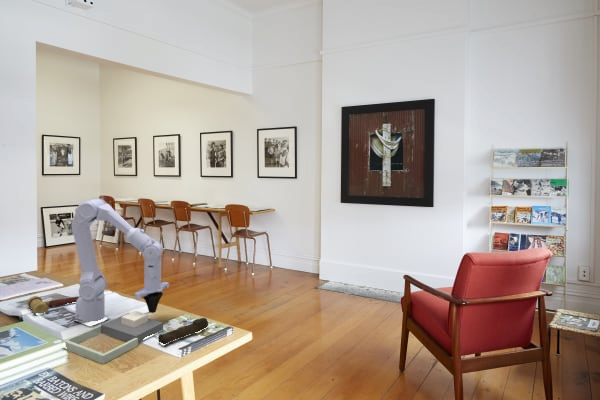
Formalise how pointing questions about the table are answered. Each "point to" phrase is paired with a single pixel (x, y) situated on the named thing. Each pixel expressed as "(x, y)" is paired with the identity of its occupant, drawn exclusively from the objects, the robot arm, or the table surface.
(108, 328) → the charcoal board
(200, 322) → the dark brown rounded bar
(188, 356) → the table surface
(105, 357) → the box
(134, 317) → the tile
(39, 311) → the gavel
